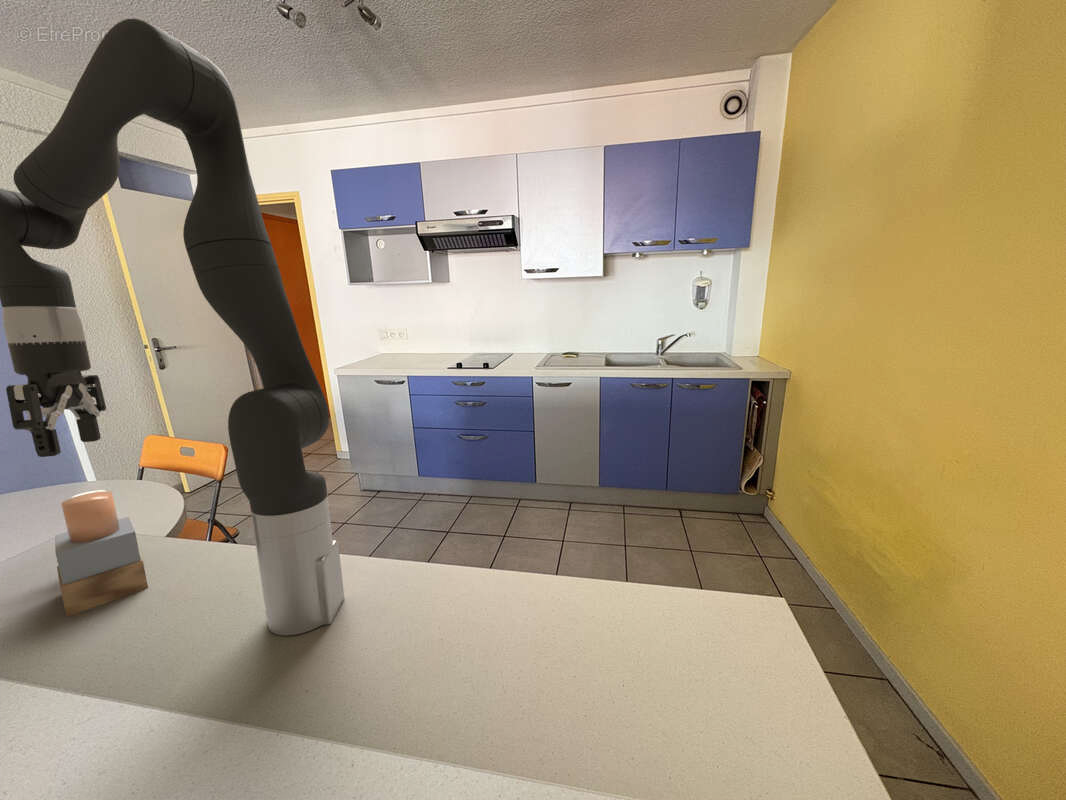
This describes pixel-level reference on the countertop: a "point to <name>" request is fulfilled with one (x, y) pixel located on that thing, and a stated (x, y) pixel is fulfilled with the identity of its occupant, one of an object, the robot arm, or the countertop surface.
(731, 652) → the countertop surface
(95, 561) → the slate top block
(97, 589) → the walnut base block
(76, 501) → the terracotta cylinder
